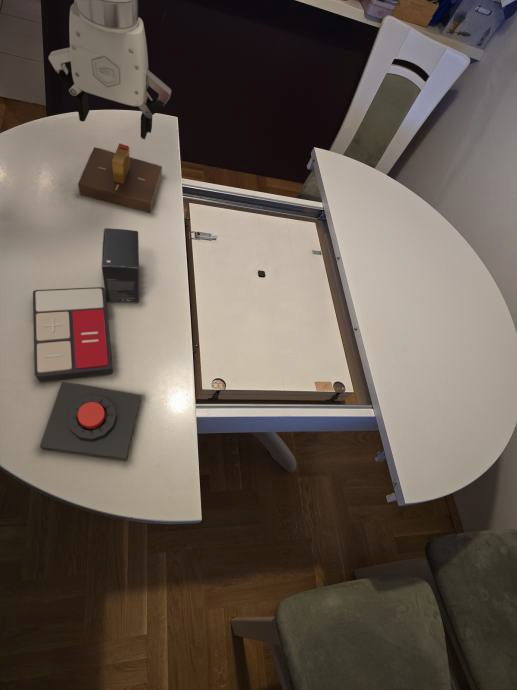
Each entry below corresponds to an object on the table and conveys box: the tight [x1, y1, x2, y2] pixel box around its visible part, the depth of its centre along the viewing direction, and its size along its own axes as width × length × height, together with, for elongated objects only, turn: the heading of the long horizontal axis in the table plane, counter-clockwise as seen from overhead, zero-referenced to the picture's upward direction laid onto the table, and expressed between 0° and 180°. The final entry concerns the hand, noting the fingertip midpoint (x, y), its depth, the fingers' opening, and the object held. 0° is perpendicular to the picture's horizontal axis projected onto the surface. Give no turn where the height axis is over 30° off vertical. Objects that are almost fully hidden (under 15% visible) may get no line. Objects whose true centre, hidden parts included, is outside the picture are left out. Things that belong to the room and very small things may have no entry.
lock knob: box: [112, 143, 131, 184], centre depth 77 cm, size 5×2×5 cm, turn 174°
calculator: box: [32, 286, 114, 383], centre depth 64 cm, size 11×4×15 cm
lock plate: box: [77, 146, 163, 214], centre depth 81 cm, size 14×11×3 cm
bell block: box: [39, 381, 142, 462], centre depth 59 cm, size 12×10×4 cm
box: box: [101, 227, 140, 304], centre depth 67 cm, size 8×6×11 cm
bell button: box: [77, 402, 105, 429], centre depth 57 cm, size 4×4×2 cm
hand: (115, 125), depth 64 cm, fingers open, 9 cm apart
